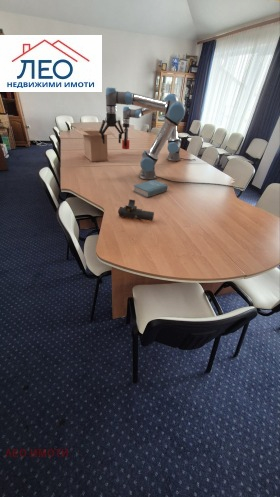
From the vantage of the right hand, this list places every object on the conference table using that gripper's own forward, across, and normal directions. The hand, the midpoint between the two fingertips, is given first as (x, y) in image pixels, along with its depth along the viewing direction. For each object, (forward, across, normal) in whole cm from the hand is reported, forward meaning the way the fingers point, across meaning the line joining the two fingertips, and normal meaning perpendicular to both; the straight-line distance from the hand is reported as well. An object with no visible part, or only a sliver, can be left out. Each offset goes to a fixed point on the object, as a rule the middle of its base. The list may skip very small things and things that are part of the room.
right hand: (125, 145), depth 256 cm
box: (+12, +19, -32) cm, 39 cm away
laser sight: (+12, +151, +22) cm, 153 cm away
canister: (+3, 0, 0) cm, 3 cm away
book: (+12, +104, +31) cm, 110 cm away
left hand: (-18, +82, -4) cm, 84 cm away
